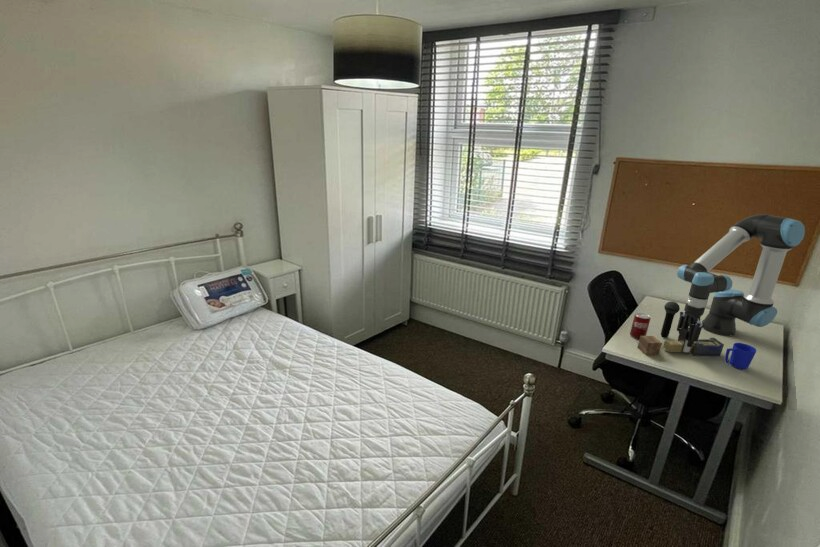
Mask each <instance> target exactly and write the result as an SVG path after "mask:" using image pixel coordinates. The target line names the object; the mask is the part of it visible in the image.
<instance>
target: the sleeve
mask: <svg viewBox="0 0 820 547" xmlns="http://www.w3.org/2000/svg"><path fill="white" fill-rule="evenodd" d="M700 341H707V342H714V343H715V344H717V345H703V343H701V342H700ZM693 342H694V343H695V344H697V345H695V347H694V350H693V352H688V353H689V354H690V355H692V356H694V357H695V356H696V357H721V354H722V352H723V349H724V346H725V344H724V343H722V341H720V340H718V339H717V338H715V337H709V338H708V339H705V338H703V339H701V338H698V341H693Z"/></svg>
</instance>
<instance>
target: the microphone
mask: <svg viewBox="0 0 820 547" xmlns="http://www.w3.org/2000/svg"><path fill="white" fill-rule="evenodd" d="M680 310H681V308H680V305H679V304H678V303H677V302H676V301H668V302H666V303H665V304H664V311H665V317H664V320H663V323H662V328H661V332H660V337H661V338H663V339H667V338H668V337H669V336H670V332H671V329H672V325H673V321H674V318H675V315H676V314H677V313H678V312H680Z"/></svg>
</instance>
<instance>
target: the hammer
mask: <svg viewBox="0 0 820 547" xmlns="http://www.w3.org/2000/svg"><path fill="white" fill-rule="evenodd" d="M680 329H681V331H680V335H679V334H678V336H679V338H678V337H677V340H664V342H663V346H662V348H663V349H664V350H665V351H666V352H677V353H678V352H679V353H681V352H682V353H684V352H683V348H684V345H685V342H686V339H688V333H689V327H688V328H683V327H682V328H680ZM700 342H701V343H703V345H717V344H715V343H714V342H707V341H700ZM695 345H697V344H695V343H694V342H693V344H692V346H691V348H690V351H689V352H693V350H694V347H695ZM689 352H688V353H689Z"/></svg>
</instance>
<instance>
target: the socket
mask: <svg viewBox="0 0 820 547" xmlns="http://www.w3.org/2000/svg"><path fill="white" fill-rule="evenodd" d="M662 344H663V343H662V341H660V340H659V339H658V338H657V337H655V335H646V336H640V339H638V344H637V349H638V350H639V351H640V352H642V353H643V355H645V356H659V355H660V352H661V350H662V349H661V348H662V347H663V346H662Z"/></svg>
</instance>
